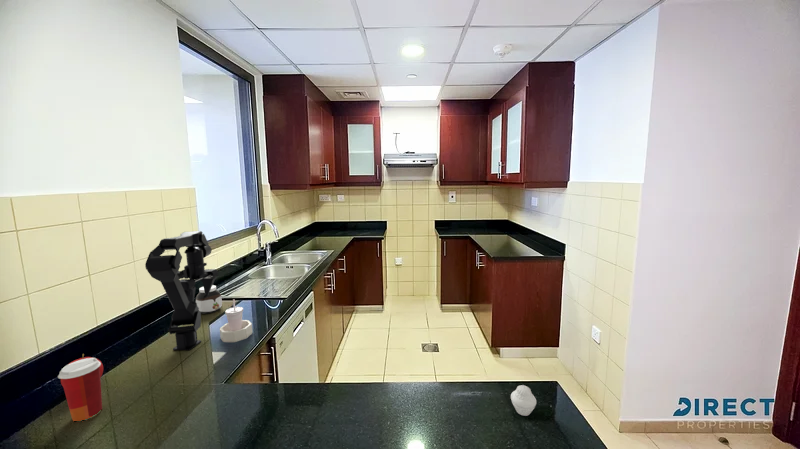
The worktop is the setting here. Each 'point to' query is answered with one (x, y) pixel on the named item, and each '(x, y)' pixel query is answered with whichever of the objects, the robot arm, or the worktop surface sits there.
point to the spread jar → (209, 300)
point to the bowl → (236, 332)
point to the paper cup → (82, 388)
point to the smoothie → (234, 317)
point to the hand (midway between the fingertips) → (199, 298)
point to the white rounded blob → (523, 400)
